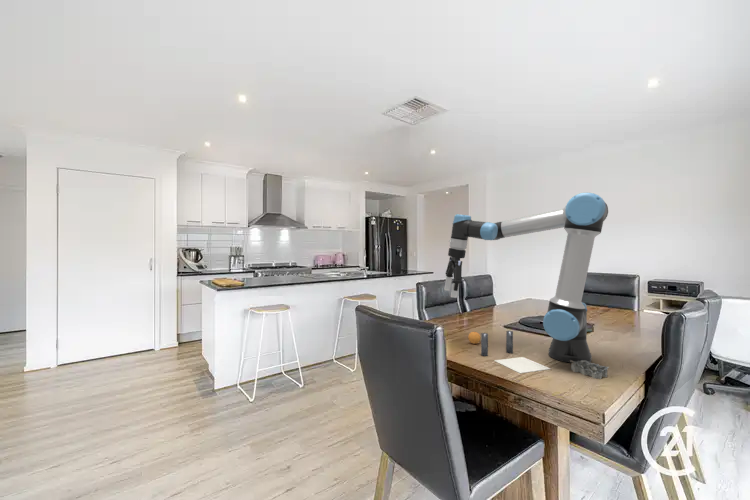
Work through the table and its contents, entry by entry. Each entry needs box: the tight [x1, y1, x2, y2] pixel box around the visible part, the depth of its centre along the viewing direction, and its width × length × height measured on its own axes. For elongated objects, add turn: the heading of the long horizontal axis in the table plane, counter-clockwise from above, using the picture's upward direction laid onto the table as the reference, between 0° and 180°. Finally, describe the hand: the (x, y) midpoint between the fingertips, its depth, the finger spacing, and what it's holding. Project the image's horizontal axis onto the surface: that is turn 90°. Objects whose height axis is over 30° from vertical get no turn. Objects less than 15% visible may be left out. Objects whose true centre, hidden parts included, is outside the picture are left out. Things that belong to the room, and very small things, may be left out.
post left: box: [480, 332, 489, 357], centre depth 140 cm, size 3×3×9 cm
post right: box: [505, 330, 514, 354], centre depth 144 cm, size 3×3×9 cm
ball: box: [467, 331, 481, 345], centre depth 157 cm, size 6×6×6 cm
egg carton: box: [570, 360, 610, 380], centre depth 121 cm, size 11×8×4 cm
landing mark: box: [493, 356, 552, 374], centre depth 129 cm, size 14×14×1 cm
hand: (450, 293), depth 156 cm, fingers open, 13 cm apart
